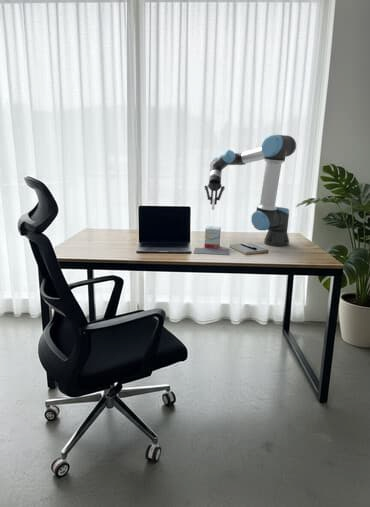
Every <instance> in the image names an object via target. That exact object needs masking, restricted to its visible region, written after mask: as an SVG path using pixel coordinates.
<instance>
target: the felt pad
mask: <svg viewBox="0 0 370 507" xmlns="http://www.w3.org/2000/svg"><path fill="white" fill-rule="evenodd" d="M193 254H197V255H216V256H218V255H219V256H220V255H221V256H222V255H223V256H230V255H231V254H230V248H218V249H216V248H204V247H194V250H193Z"/></svg>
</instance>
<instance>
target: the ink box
mask: <svg viewBox="0 0 370 507" xmlns="http://www.w3.org/2000/svg"><path fill="white" fill-rule="evenodd" d="M221 228H222V227H221V226H206V227H205V229H204V247H203V248H216V249H220V247H221V243H220V242H221V232H222V230H221Z"/></svg>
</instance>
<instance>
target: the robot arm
mask: <svg viewBox="0 0 370 507" xmlns="http://www.w3.org/2000/svg"><path fill="white" fill-rule="evenodd" d="M296 149H297V142H296V140H295V138H294V137H292V136H290V135H284V134H283V135H282V134H271V135H268V136H266V138H264V139H263V141H262V143H261V147H257V148H253V149H249V150H246V151H242V152H234V151H233V150H231V149H227V150H225V151H223V153H221V155H219V156H218V157H214V158H212V159H211V161H210V164H209V166H210V167H209V168H210V169H209V179H208V184H207V185H204V190H205V192H206V197H207V200H208V201H209V202H210V205H211V210H212V211H213V210H215V205H217V201H220V199H221V198H222V195H223V192H224V191H225V187H226V186H224V185H223V186H222V172H223V170H224V169H225V168H226V167H228V166H244V165H246V164H249V163H253V162H258V161H262V160H264V161H265V168H264V173H263V174H264V175H263V181H262V188H261V194H260V202H259V204H258V205H256V211H254V212H253V213H252V214H251V221H250V222H251V224H252V226H253V228H255V229H256V230H257V231H267V232H266V235H265V237H264V244H265V245H268V246H271V247H287V246H289V245H290V239H289V234H288V227H289V218H290V217H289V216H290V209H289V208H286V207H281V206H276V200H277V195H278V188H279V182H280V177H281V175H280V174H281V169H282V164H283V163H284V162H285V161H286V158H287V157H289V156H291V155H293V154H294V153H295V152H296ZM209 190H210V192H209ZM219 190H220V191H219ZM218 191H219V193H218Z"/></svg>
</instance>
